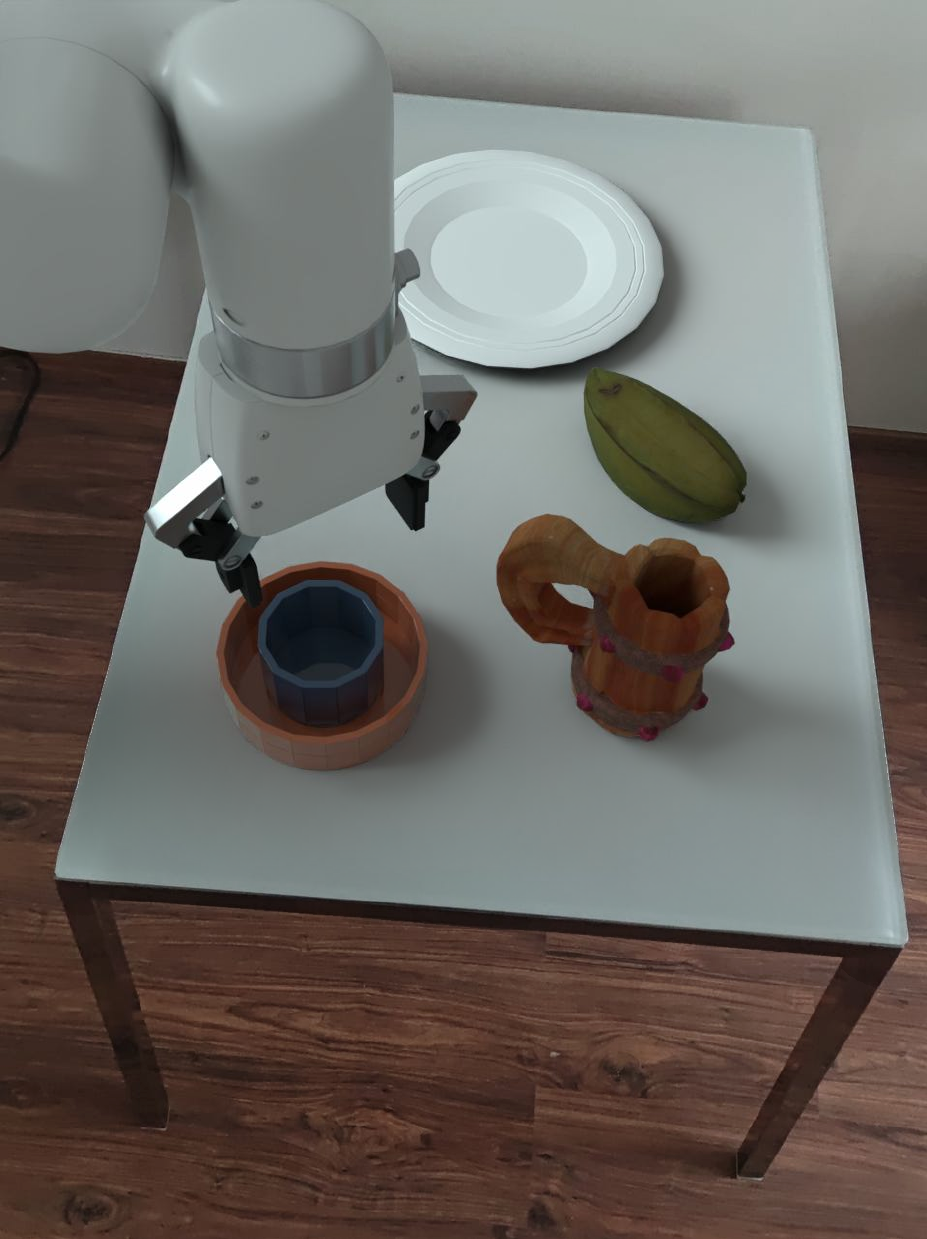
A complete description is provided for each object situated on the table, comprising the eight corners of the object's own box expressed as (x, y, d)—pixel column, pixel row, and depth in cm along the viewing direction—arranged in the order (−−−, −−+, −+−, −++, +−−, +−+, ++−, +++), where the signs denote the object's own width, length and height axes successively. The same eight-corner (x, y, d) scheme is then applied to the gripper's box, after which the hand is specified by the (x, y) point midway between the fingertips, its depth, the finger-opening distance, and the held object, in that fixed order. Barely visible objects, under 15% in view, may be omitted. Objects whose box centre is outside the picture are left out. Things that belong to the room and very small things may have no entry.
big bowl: (282, 806, 75) (277, 780, 71) (190, 647, 80) (182, 615, 77) (462, 710, 79) (465, 681, 75) (363, 564, 84) (362, 531, 81)
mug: (716, 676, 81) (777, 549, 68) (675, 778, 77) (731, 663, 64) (515, 592, 84) (537, 455, 71) (465, 687, 80) (479, 559, 67)
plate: (325, 356, 94) (324, 338, 92) (387, 147, 106) (387, 128, 105) (647, 406, 93) (652, 389, 91) (670, 189, 106) (675, 171, 104)
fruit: (578, 534, 86) (591, 477, 81) (576, 405, 92) (588, 343, 87) (738, 544, 87) (762, 488, 81) (725, 414, 93) (747, 353, 87)
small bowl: (300, 748, 76) (294, 708, 71) (245, 656, 79) (236, 612, 75) (405, 693, 79) (406, 652, 74) (348, 606, 82) (345, 561, 77)
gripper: (437, 193, 54) (429, 438, 69) (70, 331, 49) (146, 564, 64) (528, 299, 51) (500, 532, 66) (147, 459, 46) (208, 673, 61)
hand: (326, 548), depth 65 cm, fingers open, 9 cm apart
